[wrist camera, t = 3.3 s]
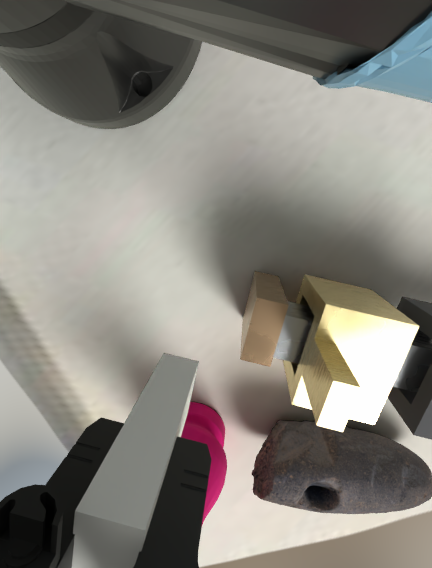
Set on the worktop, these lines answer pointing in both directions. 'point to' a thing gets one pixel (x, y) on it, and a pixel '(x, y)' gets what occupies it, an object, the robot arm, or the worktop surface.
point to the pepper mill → (210, 431)
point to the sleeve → (348, 353)
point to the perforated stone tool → (338, 471)
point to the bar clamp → (305, 332)
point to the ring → (428, 400)
